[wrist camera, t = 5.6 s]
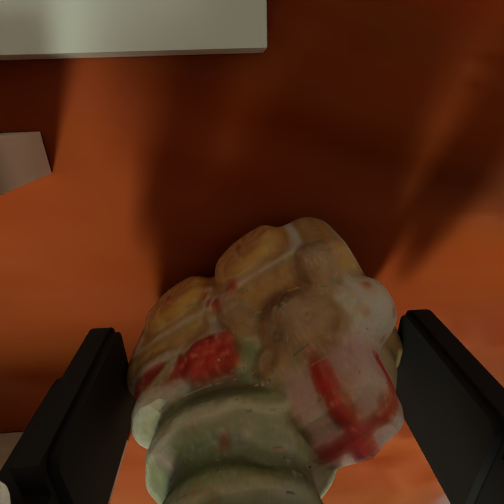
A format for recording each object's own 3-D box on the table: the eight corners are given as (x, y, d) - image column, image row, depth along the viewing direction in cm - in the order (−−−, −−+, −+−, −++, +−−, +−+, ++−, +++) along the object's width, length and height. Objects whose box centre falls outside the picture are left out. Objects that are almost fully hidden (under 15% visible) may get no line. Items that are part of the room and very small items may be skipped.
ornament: (291, 172, 10) (691, 663, 1) (390, 293, 13) (792, 786, 4) (124, 316, 12) (-160, 921, 3) (236, 400, 15) (248, 898, 6)
